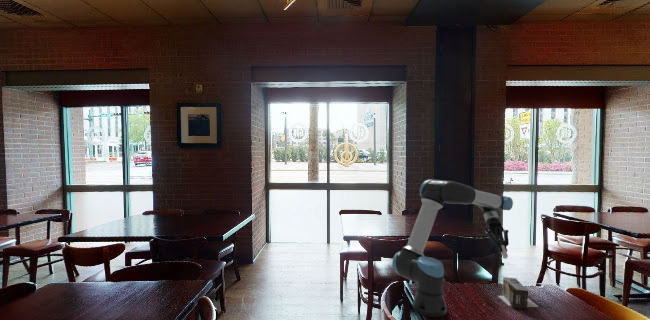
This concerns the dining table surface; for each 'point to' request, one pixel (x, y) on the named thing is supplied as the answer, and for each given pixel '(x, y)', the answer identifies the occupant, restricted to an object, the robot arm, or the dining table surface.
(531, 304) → the mat
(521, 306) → the coffee box
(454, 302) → the dining table surface
